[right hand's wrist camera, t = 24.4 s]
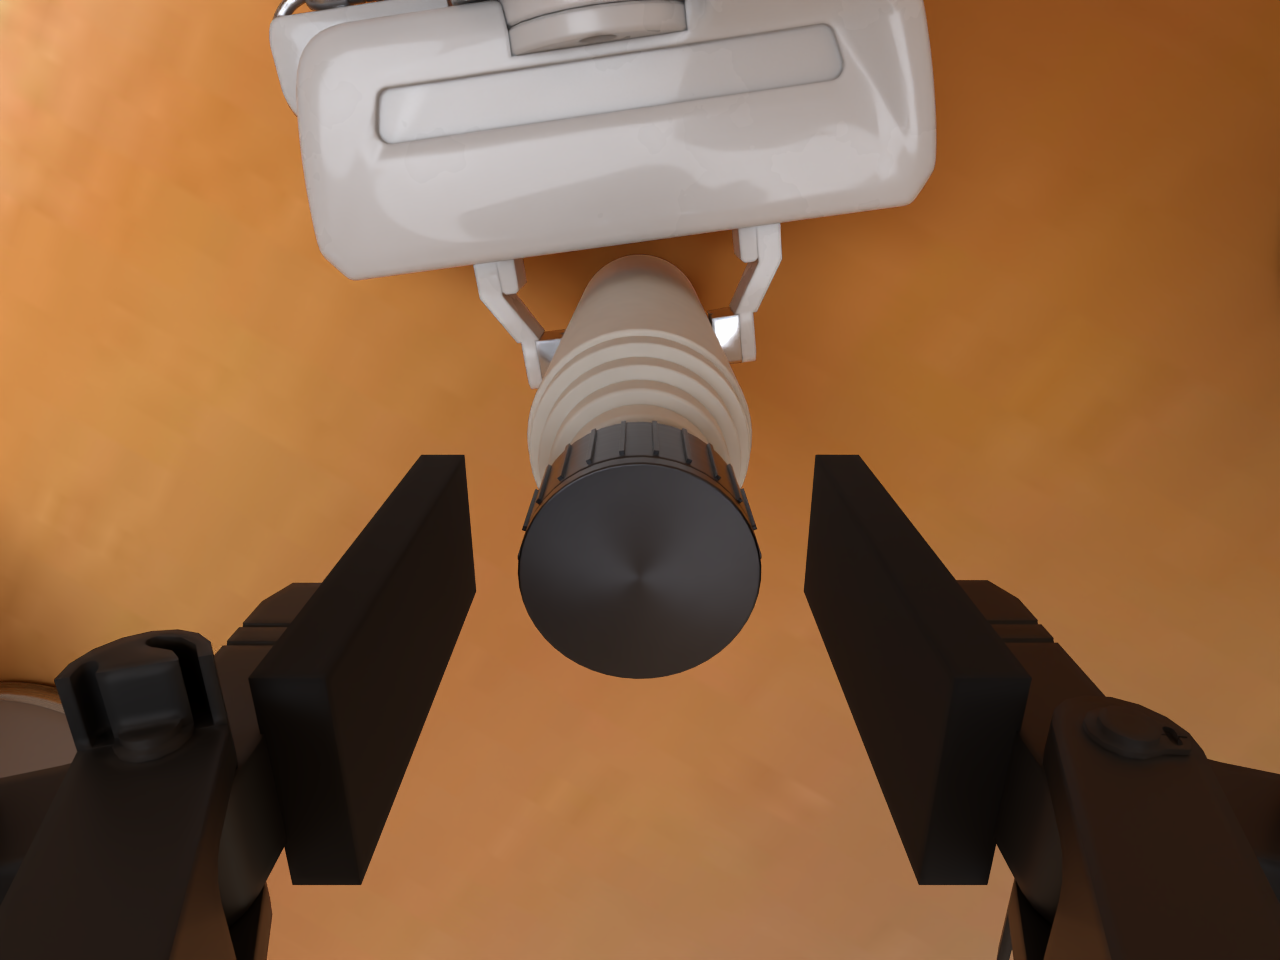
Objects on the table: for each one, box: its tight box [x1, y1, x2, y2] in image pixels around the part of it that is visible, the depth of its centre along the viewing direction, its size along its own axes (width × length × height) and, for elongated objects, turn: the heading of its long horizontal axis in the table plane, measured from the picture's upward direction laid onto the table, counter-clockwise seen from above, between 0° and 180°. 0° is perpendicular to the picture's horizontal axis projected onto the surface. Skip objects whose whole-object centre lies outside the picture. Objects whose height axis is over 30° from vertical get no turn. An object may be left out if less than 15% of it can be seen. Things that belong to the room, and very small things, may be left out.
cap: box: [518, 421, 761, 679], centre depth 13 cm, size 4×4×2 cm
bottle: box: [527, 255, 752, 489], centre depth 24 cm, size 5×5×23 cm
